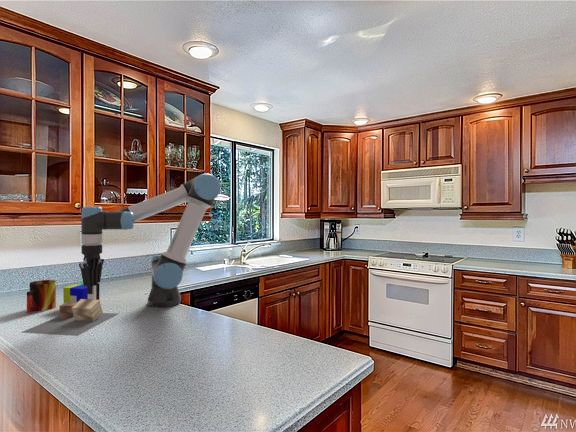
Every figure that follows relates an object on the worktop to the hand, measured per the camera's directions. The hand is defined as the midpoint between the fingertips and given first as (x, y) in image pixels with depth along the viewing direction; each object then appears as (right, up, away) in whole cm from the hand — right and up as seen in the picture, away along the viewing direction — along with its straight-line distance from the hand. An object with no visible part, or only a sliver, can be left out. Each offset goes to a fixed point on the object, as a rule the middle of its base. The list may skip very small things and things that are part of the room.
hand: (92, 301), depth 149 cm
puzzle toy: (-13, -7, +15) cm, 21 cm away
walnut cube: (-10, -6, +1) cm, 12 cm away
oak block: (0, -6, -2) cm, 6 cm away
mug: (-27, -6, +10) cm, 30 cm away
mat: (-4, -7, -6) cm, 10 cm away
